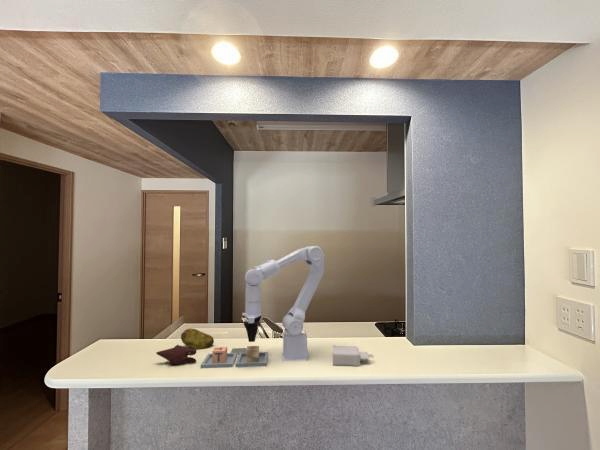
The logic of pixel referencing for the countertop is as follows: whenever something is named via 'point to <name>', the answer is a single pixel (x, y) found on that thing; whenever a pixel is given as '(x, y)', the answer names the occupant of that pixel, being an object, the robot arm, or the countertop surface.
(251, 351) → the plain cube
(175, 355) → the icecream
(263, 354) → the dish
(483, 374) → the countertop surface
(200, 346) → the potato
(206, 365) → the dish
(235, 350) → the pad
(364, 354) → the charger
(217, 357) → the letter cube
